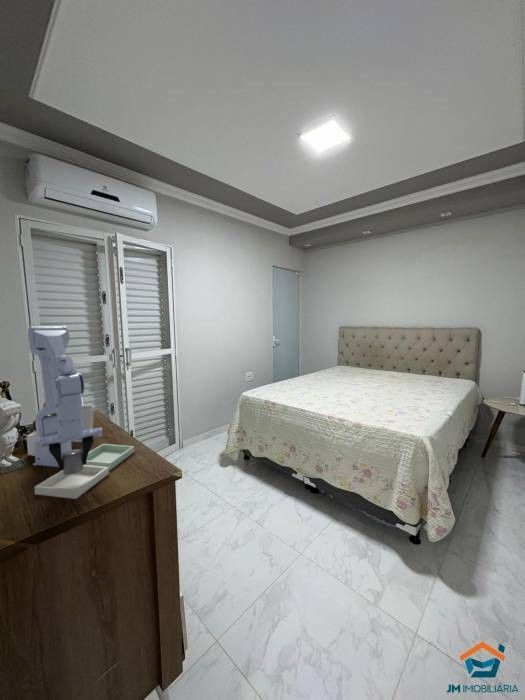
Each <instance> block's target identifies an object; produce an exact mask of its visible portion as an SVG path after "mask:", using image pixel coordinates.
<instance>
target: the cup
mask: <svg viewBox="0 0 525 700" xmlns="http://www.w3.org/2000/svg"><path fill="white" fill-rule="evenodd" d="M94 410H95V407H94V406H93V405H82V412H83V429H94V412H95V411H94ZM73 442H75V443H82V439H80V440H76V441H73Z"/></svg>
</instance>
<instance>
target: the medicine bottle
mask: <svg viewBox="0 0 525 700" xmlns="http://www.w3.org/2000/svg"><path fill="white" fill-rule="evenodd" d="M32 429H33V432H32V433H29V434H27V435H26V445H27V455H28V456H30V455H31V457H35V447H34V445H35V441H36V439H37V438H38V436H37V432H36V419H35V420H33V422H32Z"/></svg>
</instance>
